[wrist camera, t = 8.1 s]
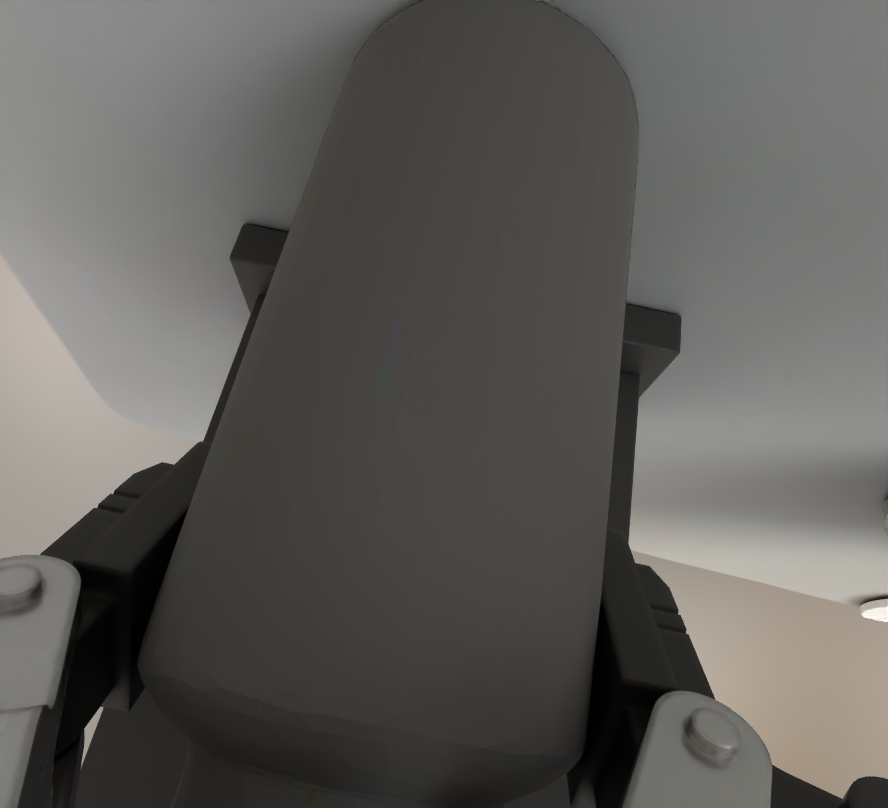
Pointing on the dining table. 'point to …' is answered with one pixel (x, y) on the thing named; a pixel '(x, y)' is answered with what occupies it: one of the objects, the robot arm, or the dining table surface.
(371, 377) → the bottle
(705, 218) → the dining table surface
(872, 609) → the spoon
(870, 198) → the dining table surface
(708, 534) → the dining table surface
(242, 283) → the coffee maker
